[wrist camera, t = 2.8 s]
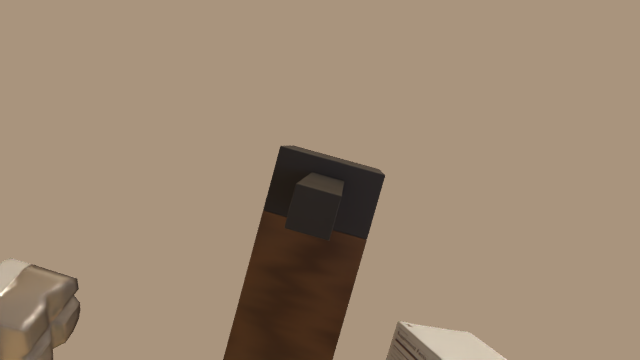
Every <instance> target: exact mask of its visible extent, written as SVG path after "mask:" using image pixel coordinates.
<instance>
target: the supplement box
mask: <svg viewBox="0 0 640 360" xmlns="http://www.w3.org/2000/svg"><path fill="white" fill-rule="evenodd" d="M386 360H507V359H506V358H504V357H503V356H501V355H500V354H499V353H497V352H496V351H495V350H493V349H492V348H491V347H489V346H488V345H487V344H485V343H484V342H483V341H481V340H480V339H478V338H477V337H476V336H474V335H473V334H471V333H470V332H466V331H456V330H449V329H443V328H437V327H430V326H423V325H417V324H410V323H407V322H401V321H398V323H397V326H396V329H395V333H394V336H393V339H392V342H391V345H390V349H389V352H388V355H387V358H386Z"/></svg>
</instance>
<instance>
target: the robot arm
mask: <svg viewBox="0 0 640 360" xmlns="http://www.w3.org/2000/svg"><path fill="white" fill-rule="evenodd" d="M77 290H78V281H77V279H76V278H73V277H70V276H67V275H64V274H61V273H57V272H54V271H51V270H48V269H45V268H42V267H39V266H36V265H32V264H29V263H26V262H22V261H19V260H16V259H13V258H10V259H7V260H5V261H3V262H2V263H1V264H0V360H53V349H54V348H56V347H58V346H59V345H61V344H64V343H65V342H66V341H67V340H68V338H69V337H70V335H71V334H72V332H73V330H74V328H75V326H76V324H77V321H78V319H79V313H80V302H79V301H78V300H77V298H76V297H75V296H74V294H75V293H76V291H77Z"/></svg>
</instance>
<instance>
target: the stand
mask: <svg viewBox="0 0 640 360" xmlns="http://www.w3.org/2000/svg"><path fill="white" fill-rule="evenodd" d="M286 219H287V217H285V216H281V215H278V214H274V213H271V212H267V211H263V213H262V217H261V221H260V224H259V228H258V232H257V236H256V239H255V243H254V247H253V251H252V254H251V258H250V262H249V266H248V269H247V273H246V277H245V280H244V284H243V288H242V291H241V295H240V299H239V303H238V307H237V310H236V314H235V318H234V321H233V325H232V329H231V333H230V336H229V340H228V344H227V348H226V351H225V355H224V359H223V360H332V359H333V356H334V352H335V349H336V345H337V342H338V338H339V335H340V331H341V328H342V324H343V321H344V317H345V314H346V310H347V307H348V304H349V300H350V297H351V293H352V290H353V286H354V283H355V279H356V275H357V272H358V269H359V265H360V261H361V258H362V254H363V251H364V248H365V244H366V239H363V238H359V237H356V236H352V235H348V234H345V233H341V232H338V231H334V230H332V233H331V236H330V240H329V241H328V240H324V239H321V238H317V237H314V236H310V235H307V234H303V233H300V232H296V231H293V230H289V229H286V228H284V226H285V223H286Z"/></svg>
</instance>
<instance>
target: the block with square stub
mask: <svg viewBox="0 0 640 360" xmlns="http://www.w3.org/2000/svg"><path fill="white" fill-rule="evenodd" d="M384 178H385V175H384V174H383V173H382V172H381V171H380V170H379V169H376V168H372V167H369V166H365V165H361V164H358V163H354V162H351V161H347V160H343V159H340V158H336V157H333V156H329V155H325V154H322V153H318V152H314V151H311V150H307V149H304V148H300V147H296V146H281V147H280V150H279V154H278V157H277V161H276V165H275V169H274V172H273V176H272V180H271V183H270V187H269V191H268V195H267V198H266V202H265V206H264V211H267V212H271V213H274V214H278V215H281V216H285V217H287V219H286V223H285V226H284V228H286V229H289V230H293V231H296V232H300V233H303V234H307V235H310V236H314V237H317V238H321V239H324V240H328V241H329V240H330V236H331V233H332V230H334V231H338V232H341V233H345V234H348V235H352V236H356V237H359V238H363V239H367V237H368V234H369V230H370V227H371V223H372V219H373V216H374V213H375V209H376V206H377V202H378V199H379V195H380V191H381V188H382V185H383V181H384Z"/></svg>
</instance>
